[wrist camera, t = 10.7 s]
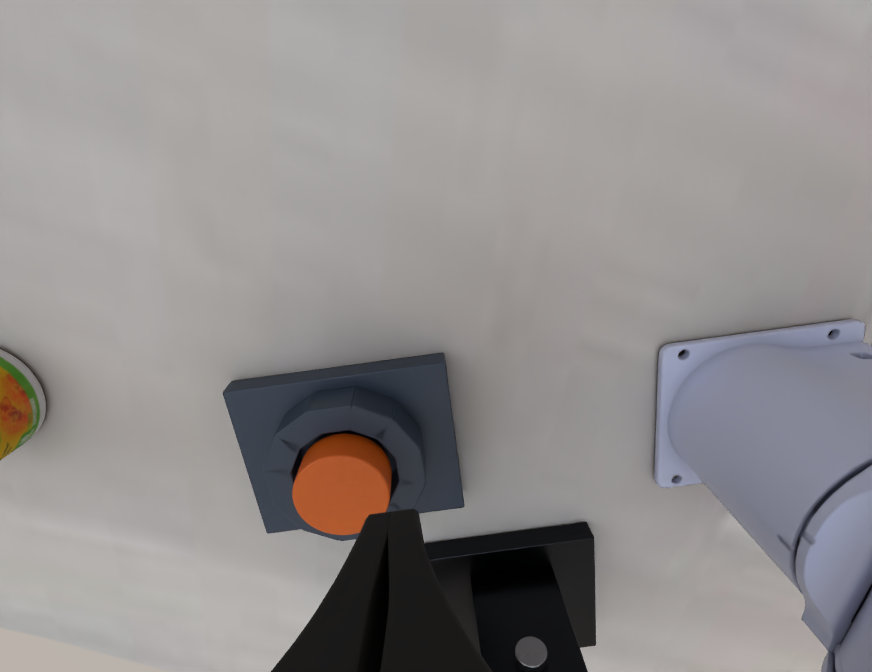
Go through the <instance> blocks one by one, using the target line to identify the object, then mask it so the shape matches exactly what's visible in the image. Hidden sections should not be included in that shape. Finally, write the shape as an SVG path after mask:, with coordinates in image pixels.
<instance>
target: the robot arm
mask: <svg viewBox="0 0 872 672" xmlns="http://www.w3.org/2000/svg"><path fill="white" fill-rule="evenodd" d="M832 330H833V331H832ZM830 331H832V334H831V335H829V332H830ZM864 334H865V325H864V323H863V322H861V321H858V320H855V319H848V320H840V321H833V322H825V323H818V324H811V325H803V326H796V327H788V328H781V329H774V330H766V331H759V332H751V333H744V334H737V335H729V336H722V337H714V338H707V339H699V340H692V341H685V342H677V343H670V344H667V345H665V346H663V347H662V348H661V350H660V352H659V363H658V390H657V417H656V444H655V471H654V479H655V482H656V483H657V484H658V485H659V487H662V488H670V487H678V486H685V485H693V484H700V483H704V484H705V485H706V486H707V488H708V489H709V490H710V491H711V492H712V493H713V494H714V495H715V497H716V498H717V499H718V500H719V501H720V502H721V503H722V504H723V505H724V507H725V508H726V509H727V510H728V511H729V512H730V513H731V514H732V516H733V517H734V518H735V519H736V520H737V521H738V522H739V523H740V525H741V526H742V527H743V528H744V529H745V530H746V531H747V532H748V534H749V535H750V536H751V537H752V538H753V539H754V540H755V541H756V543H757V544H758V545H759V546H760V547H761V548H762V549H763V550H764V552H765V553H766V554H767V555H768V556H769V557H770V558H771V559H772V561H773V562H774V563H775V564H776V565H777V566H778V567H779V568H780V569H781V571H782V572H783V573H784V574H785V575H786V576H787V577H788V578H789V580H790V581H791V582H792V583H793V584H794V585H795V586H796V587H797V589H798V590H799V591H800V592H801V593H802V594H803V596H804V598H805V610H804V613H803V615H802V620H803V621H804V623H805V624H806V625H807V626H808V627H809V628H810V630H811V631H812V632H813V633H814V634H815V636H816V637H817V638H818V639H819V640H820V642H821V643H822V644H823V645H824V646H825V648H826V649H827V650H828V653H827V654H826V656H825V658H824V661H823V665H822V669H821V672H872V345H869V344H867V343H864V342H863V339H864ZM828 335H829V336H828ZM684 349H685V352H684V354H683V355H682V356H680V357H678V354H679V352H680V351H681V350H684ZM676 475H677V477H676V478H674V479H672V478H673V477H674V476H676ZM271 672H493V671H492V670H491V669H490V667H489V666H488V664H487V663H486V661H485V660H484V658H483V657H482V656H481V654H480V653H479V651H478V650H477V648H476V647H475V645H474V644H473V643H472V641H471V640H470V638H469V636H468V635H467V633H466V632H465V630H464V628H463V627H462V625H461V623H460V622H459V620H458V618H457V616H456V615H455V613H454V611H453V609H452V607H451V606H450V604H449V602H448V600H447V598H446V596H445V594H444V592H443V590H442V588H441V586H440V583H439V581H438V579H437V577H436V575H435V572H434V570H433V567H432V565H431V562H430V560H429V557H428V554H427V552H426V549H425V546H424V540H423V534H422V529H421V523H420V517H419V512H418V511H417V510H415V509H407V510H399V511H392V512H384V513H377V514H369V515H368V517H367V518H366V520H365V522H364V524H363V527H362V529H361V531H360V533H359V535H358V538H357V540H356V542H355V544H354V546H353V548H352V550H351V552H350V554H349V556H348V558H347V560H346V561H345V563H344V565H343V567H342V569H341V571H340V572H339V574H338V576H337V578H336V580H335V581H334V583H333V585H332V586H331V588H330V590H329V591H328V593H327V595H326V596H325V598H324V599H323V601H322V603H321V604H320V606H319V608H318V609H317V611H316V612H315V614H314V615H313V617H312V618H311V620H310V621H309V622H308V624H307V625H306V627H305V628H304V630H303V631H302V632H301V634H300V635H299V636H298V638H297V639H296V641H295V642H294V643H293V645H292V646H291V647H290V648H289V650H288V651H287V652H286V653H285V655H284V656H283V657H282V658H281V660H280V661H279V662H278V663H277V665H276V666H275V667H274V668H273V670H272V671H271Z"/></svg>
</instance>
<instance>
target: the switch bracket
mask: <svg viewBox="0 0 872 672" xmlns="http://www.w3.org/2000/svg"><path fill="white" fill-rule="evenodd" d="M424 546H425V549H426V552H427V554H428V557H429V560H430V562H431V565H432V567H433V570H434V572H435V575H436V577H437V579H438V581H439V583H440V586H441V588H442V590H443V592H444V594H445V596H446V598H447V600H448V602H449V604H450V606H451V607H452V609H453V611H454V613H455V615H456V616H457V618H458V620H459V622H460V623H461V625H462V627H463V628H464V630H465V632H466V633H467V635H468V636H469V638H470V640H471V641H472V643H473V644H474V645H475V647H476V648H477V650H478V651H479V653H480V654H481V656H482V657H483V658H484V660H485V661H486V663H487V664H488V666H489V667H490V669H491V670H492V671H493V672H588V671H587V668H586V665H585V662H584V659H583V656H582V653H581V650H580V648H581V647H588V646H595V645H596V620H595V560H594V536H593V534H592V532H591V530H590V528H589V526H588V524H587V522H583V523H576V524H568V525H561V526H553V527H546V528H538V529H531V530H523V531H516V532H508V533H501V534H493V535H486V536H478V537H471V538H464V539H456V540H449V541H441V542H434V543H426V544H424Z"/></svg>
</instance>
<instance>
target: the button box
mask: <svg viewBox="0 0 872 672" xmlns="http://www.w3.org/2000/svg"><path fill="white" fill-rule="evenodd" d="M223 396H224V399H225V402H226V405H227V408H228V412H229V415H230V418H231V421H232V424H233V427H234V430H235V434H236V437H237V440H238V443H239V446H240V449H241V453H242V456H243V459H244V462H245V465H246V468H247V472H248V475H249V478H250V481H251V484H252V487H253V491H254V494H255V497H256V500H257V503H258V506H259V509H260V513H261V516H262V519H263V522H264V525H265V528H266V532H267V533H275V532H283V531H290V530H298V529H302V530H304V531H307V532H311V533H314V534H318V535H321V536H325V537H328V538H332V539H335V540H340V541H345V540H353V539H357V538H358V535H359V533H356V534H351V535H334V534H329V533H325V532H322V531H320V530H317V529H315V528H314V527H312V526H310V525H309V524H308V523H307V522H305V521H304V520H303V519H302V518H301V516H300V515H299V514H298V512H297V510H296V508H295V505H294V503H293V498H292V489H293V484H294V481H295V478H296V476H297V473H298V470H299V467H300V465H301V462H302V459H303V457H304V455H305V453H306V452H307V450H308V449H309V448H310V447H311V446H312V445H313V444H314V443H316V442H317V441H319V440H320V439H322V438H325V437H327V436H330V435H334V434H341V433H349V434H356V435H360V436H363V437H365V438H368V439H370V440H371V441H373V442H375V443H376V444H377V445H378V446H379V447H381V449H382V450H383V451H384V452H385V454H386V455H387V457H388V459H389V461H390V464H391V470H392V477H391V491H390V502H389V506H388V509H387V511H386V512H392V511H399V510H407V509H415V510H417V511H418V512H419V513H425V512H432V511H440V510H447V509H455V508H462V507H464V499H463V491H462V484H461V476H460V468H459V461H458V453H457V446H456V438H455V431H454V423H453V415H452V408H451V400H450V393H449V385H448V378H447V370H446V363H445V356H444V353H438V354H430V355H423V356H415V357H408V358H401V359H393V360H386V361H378V362H371V363H364V364H356V365H349V366H341V367H334V368H327V369H319V370H312V371H304V372H297V373H290V374H282V375H275V376H267V377H260V378H253V379H245V380H238V381H232V382H231V383H230V384H229V385H228V386H227V388H226V389H225V390H224V391H223Z"/></svg>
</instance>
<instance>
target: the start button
mask: <svg viewBox="0 0 872 672" xmlns="http://www.w3.org/2000/svg"><path fill="white" fill-rule="evenodd" d="M391 477H392V470H391V464H390V461H389V459H388V457H387V455H386V454H385V452H384V451H383V450H382V449H381V447H379V446H378V445H377V444H376V443H375V442H373V441H371V440H370V439H368V438H365V437H363V436H360V435H356V434H349V433H341V434H334V435H330V436H327V437H325V438H322V439H320V440H319V441H317V442H316V443H314V444H313V445H312V446H311V447H310V448H309V449H308V450H307V452H306V453H305V455H304V457H303V459H302V462H301V465H300V467H299V470H298V473H297V476H296V478H295V481H294V484H293V489H292V498H293V503H294V505H295V508H296V510H297V512H298V514H299V515H300V516H301V518H302V519H303V520H304V521H305V522H307V523H308V524H309V525H310V526H312V527H314V528H315V529H317V530H320V531H322V532H325V533H329V534H334V535H351V534H356V533H360V531H361V529H362V527H363V524H364V522H365V520H366V518H367V517H368V515H369V514H377V513H384V512H386V511H387V509H388V506H389V502H390V491H391Z"/></svg>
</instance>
